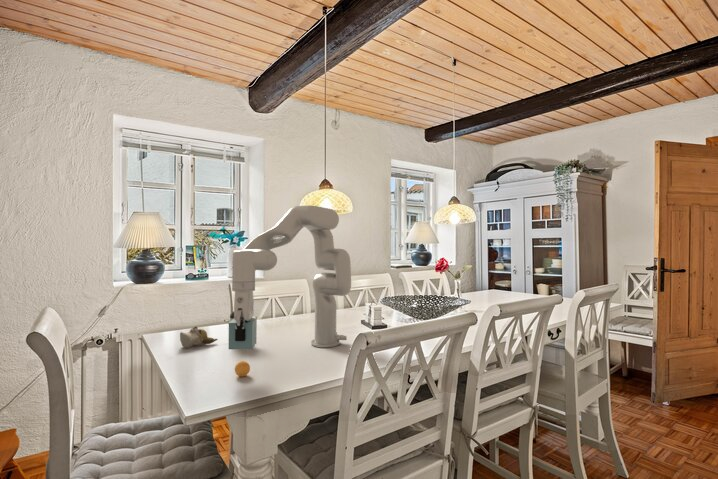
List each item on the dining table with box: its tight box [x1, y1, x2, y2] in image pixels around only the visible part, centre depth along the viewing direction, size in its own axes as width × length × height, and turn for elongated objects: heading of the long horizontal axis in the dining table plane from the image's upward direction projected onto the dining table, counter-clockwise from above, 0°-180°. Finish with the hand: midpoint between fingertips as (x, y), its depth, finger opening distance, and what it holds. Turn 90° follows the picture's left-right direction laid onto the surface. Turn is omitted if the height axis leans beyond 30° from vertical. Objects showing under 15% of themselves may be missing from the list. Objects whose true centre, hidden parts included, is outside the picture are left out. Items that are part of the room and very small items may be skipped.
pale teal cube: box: [228, 317, 258, 350], centre depth 136 cm, size 8×8×9 cm
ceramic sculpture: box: [179, 326, 219, 349], centre depth 173 cm, size 11×9×15 cm
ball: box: [234, 360, 251, 377], centre depth 136 cm, size 5×5×5 cm
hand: (243, 337), depth 136 cm, fingers closed on pale teal cube, 7 cm apart
